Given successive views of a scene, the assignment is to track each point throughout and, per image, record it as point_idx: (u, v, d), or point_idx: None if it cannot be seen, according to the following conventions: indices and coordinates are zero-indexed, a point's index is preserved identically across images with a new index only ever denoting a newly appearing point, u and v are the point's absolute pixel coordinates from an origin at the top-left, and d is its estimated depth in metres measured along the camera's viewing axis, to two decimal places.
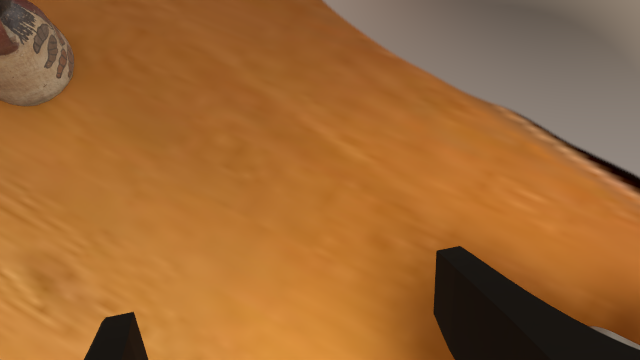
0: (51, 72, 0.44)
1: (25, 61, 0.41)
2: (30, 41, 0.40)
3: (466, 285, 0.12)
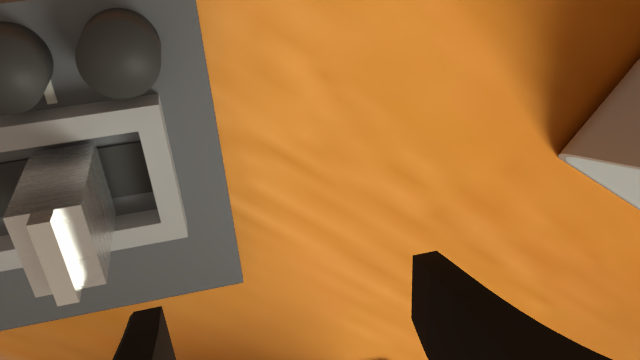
0: None
1: None
2: None
3: (441, 290, 0.12)
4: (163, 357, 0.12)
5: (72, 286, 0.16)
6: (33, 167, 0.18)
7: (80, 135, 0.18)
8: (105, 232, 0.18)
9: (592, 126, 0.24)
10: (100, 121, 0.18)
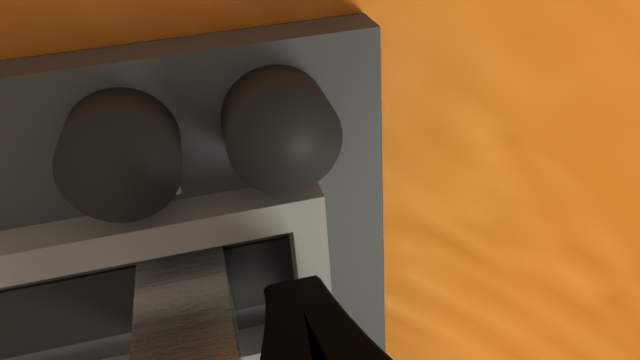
0: None
1: None
2: None
3: (305, 319, 0.12)
4: None
5: None
6: (147, 291, 0.13)
7: (216, 240, 0.13)
8: None
9: None
10: (245, 221, 0.13)
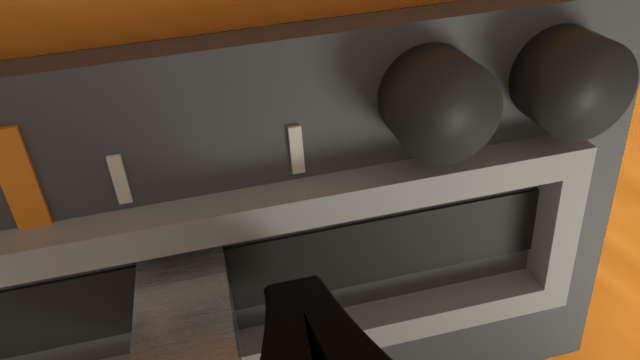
0: None
1: None
2: None
3: (305, 319, 0.12)
4: None
5: None
6: (147, 291, 0.13)
7: (498, 187, 0.14)
8: None
9: None
10: (527, 169, 0.14)
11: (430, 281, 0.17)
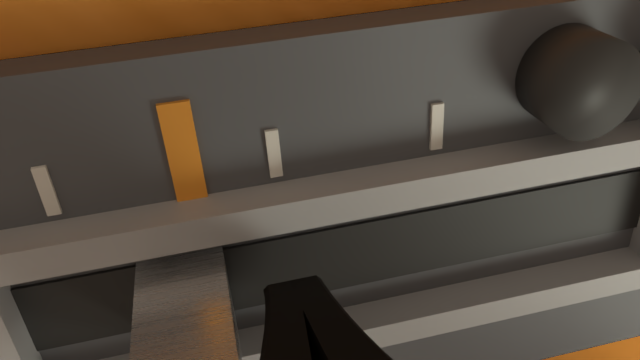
0: None
1: None
2: None
3: (305, 319, 0.12)
4: None
5: None
6: (147, 291, 0.13)
7: (624, 164, 0.15)
8: None
9: None
10: None
11: (540, 258, 0.17)
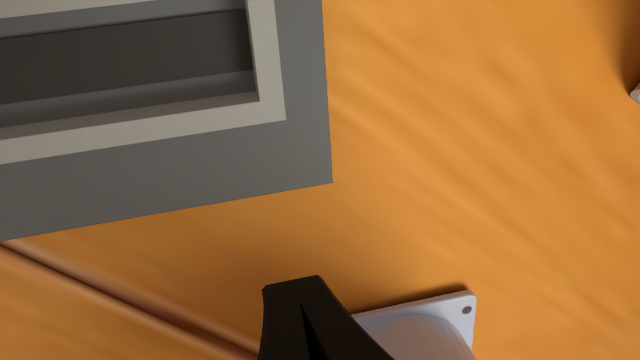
0: None
1: None
2: None
3: (307, 319, 0.12)
4: None
5: None
6: None
7: None
8: None
9: None
10: None
11: (165, 95, 0.19)
